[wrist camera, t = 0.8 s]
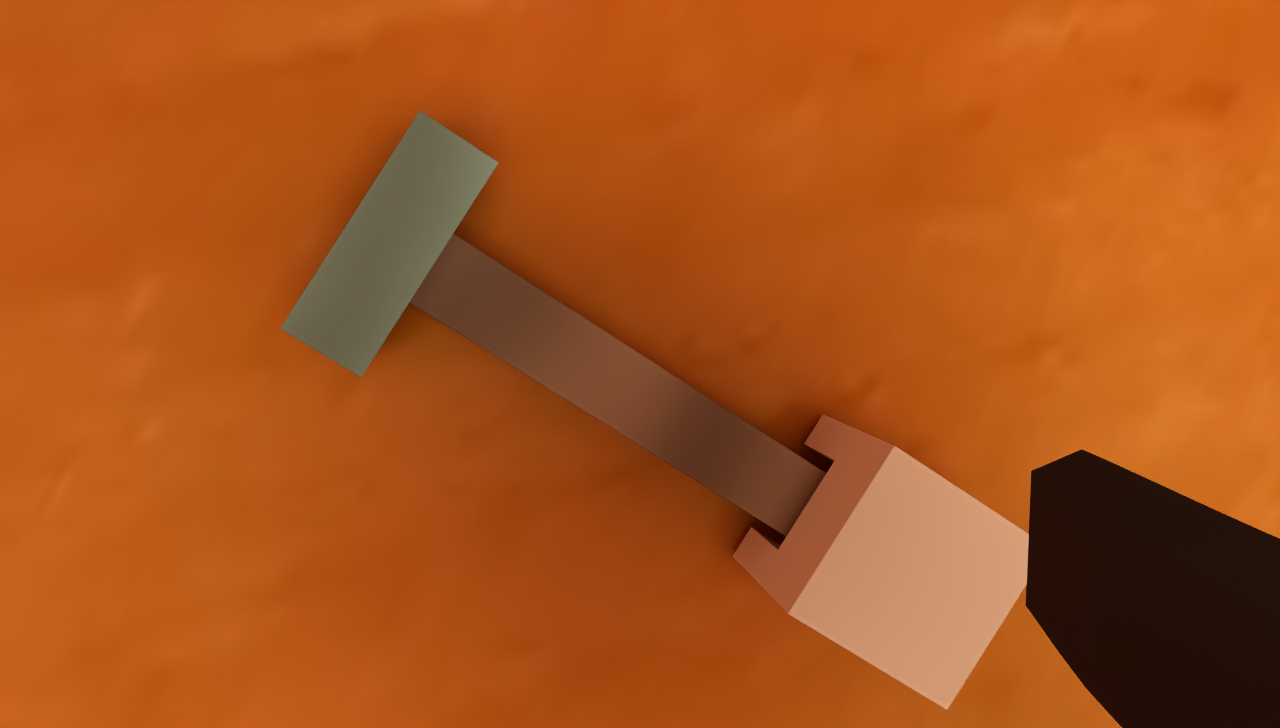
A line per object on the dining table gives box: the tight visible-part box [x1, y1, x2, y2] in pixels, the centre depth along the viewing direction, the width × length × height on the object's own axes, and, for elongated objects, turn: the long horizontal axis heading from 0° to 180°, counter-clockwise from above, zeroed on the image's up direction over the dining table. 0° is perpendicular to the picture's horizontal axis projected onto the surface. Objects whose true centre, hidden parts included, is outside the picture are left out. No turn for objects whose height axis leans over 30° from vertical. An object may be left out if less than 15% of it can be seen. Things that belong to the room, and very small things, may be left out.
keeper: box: [733, 414, 1029, 710], centre depth 31 cm, size 5×5×5 cm
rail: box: [280, 111, 826, 536], centre depth 30 cm, size 20×6×6 cm, turn 57°
